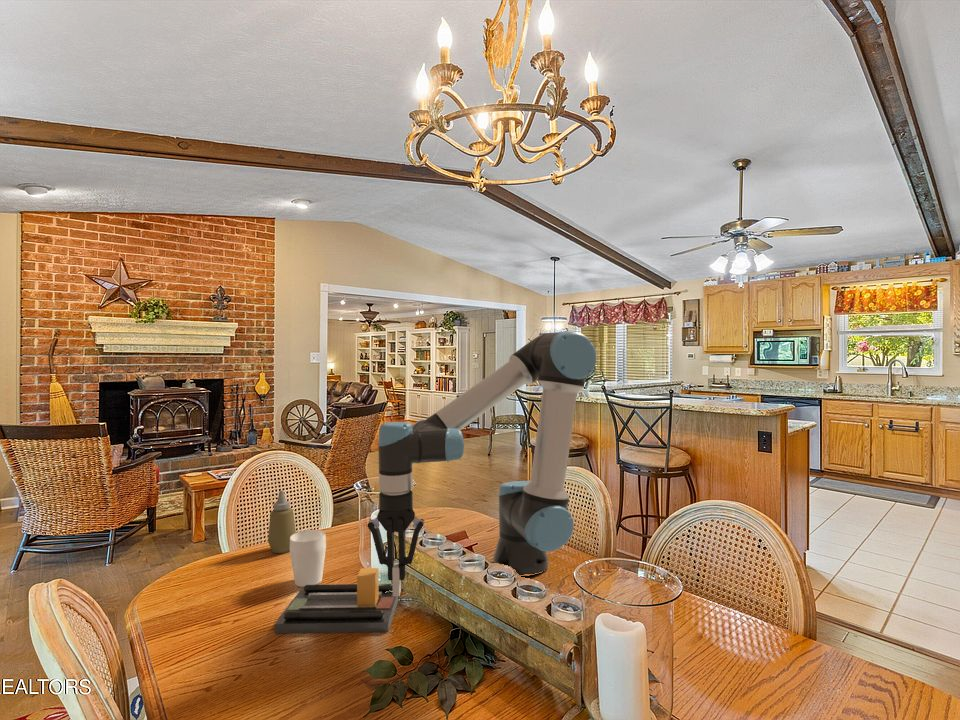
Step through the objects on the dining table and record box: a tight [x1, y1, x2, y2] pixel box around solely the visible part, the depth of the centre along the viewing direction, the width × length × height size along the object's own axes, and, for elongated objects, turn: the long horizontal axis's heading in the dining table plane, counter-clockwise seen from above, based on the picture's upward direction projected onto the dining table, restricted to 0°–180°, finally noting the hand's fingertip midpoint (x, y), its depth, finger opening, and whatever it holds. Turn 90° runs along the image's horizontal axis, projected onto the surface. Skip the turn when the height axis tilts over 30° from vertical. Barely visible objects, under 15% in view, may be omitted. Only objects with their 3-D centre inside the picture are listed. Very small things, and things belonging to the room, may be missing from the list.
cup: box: [289, 529, 327, 588], centre depth 129 cm, size 9×9×12 cm
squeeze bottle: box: [267, 490, 297, 554], centre depth 150 cm, size 8×8×18 cm
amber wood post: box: [356, 567, 380, 605], centre depth 113 cm, size 4×4×7 cm
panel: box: [274, 583, 399, 634], centre depth 113 cm, size 24×16×4 cm, turn 90°
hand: (396, 593), depth 113 cm, fingers closed
